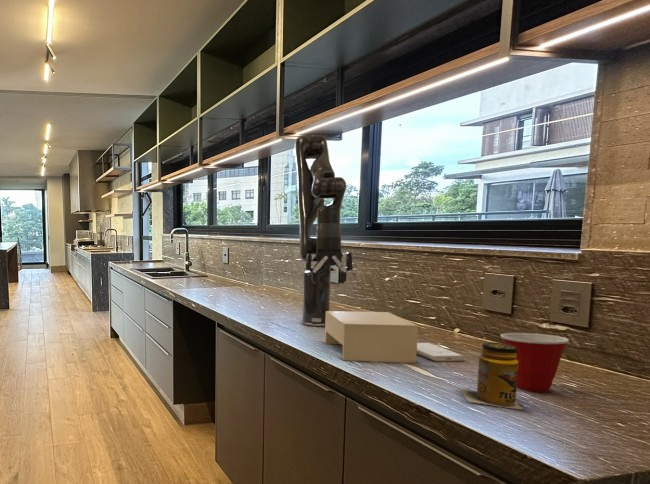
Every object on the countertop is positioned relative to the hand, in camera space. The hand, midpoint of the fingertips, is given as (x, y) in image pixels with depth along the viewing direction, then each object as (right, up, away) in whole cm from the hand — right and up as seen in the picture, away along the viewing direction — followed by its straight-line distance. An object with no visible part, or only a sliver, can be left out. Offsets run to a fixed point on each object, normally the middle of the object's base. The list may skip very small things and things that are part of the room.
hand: (328, 283), depth 142 cm
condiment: (+6, -23, -55) cm, 60 cm away
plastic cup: (+20, -22, -49) cm, 58 cm away
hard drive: (+17, -20, -24) cm, 36 cm away
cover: (0, -20, -21) cm, 29 cm away
